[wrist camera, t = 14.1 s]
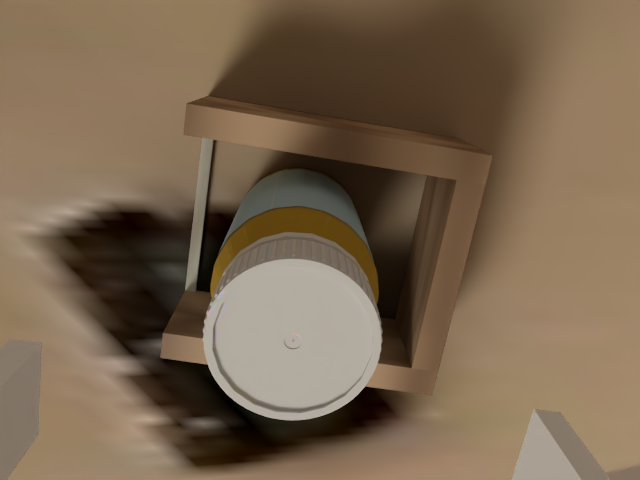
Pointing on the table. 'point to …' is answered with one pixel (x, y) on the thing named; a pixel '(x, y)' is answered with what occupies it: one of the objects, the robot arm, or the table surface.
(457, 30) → the table surface
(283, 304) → the bottle
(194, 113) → the u rest
